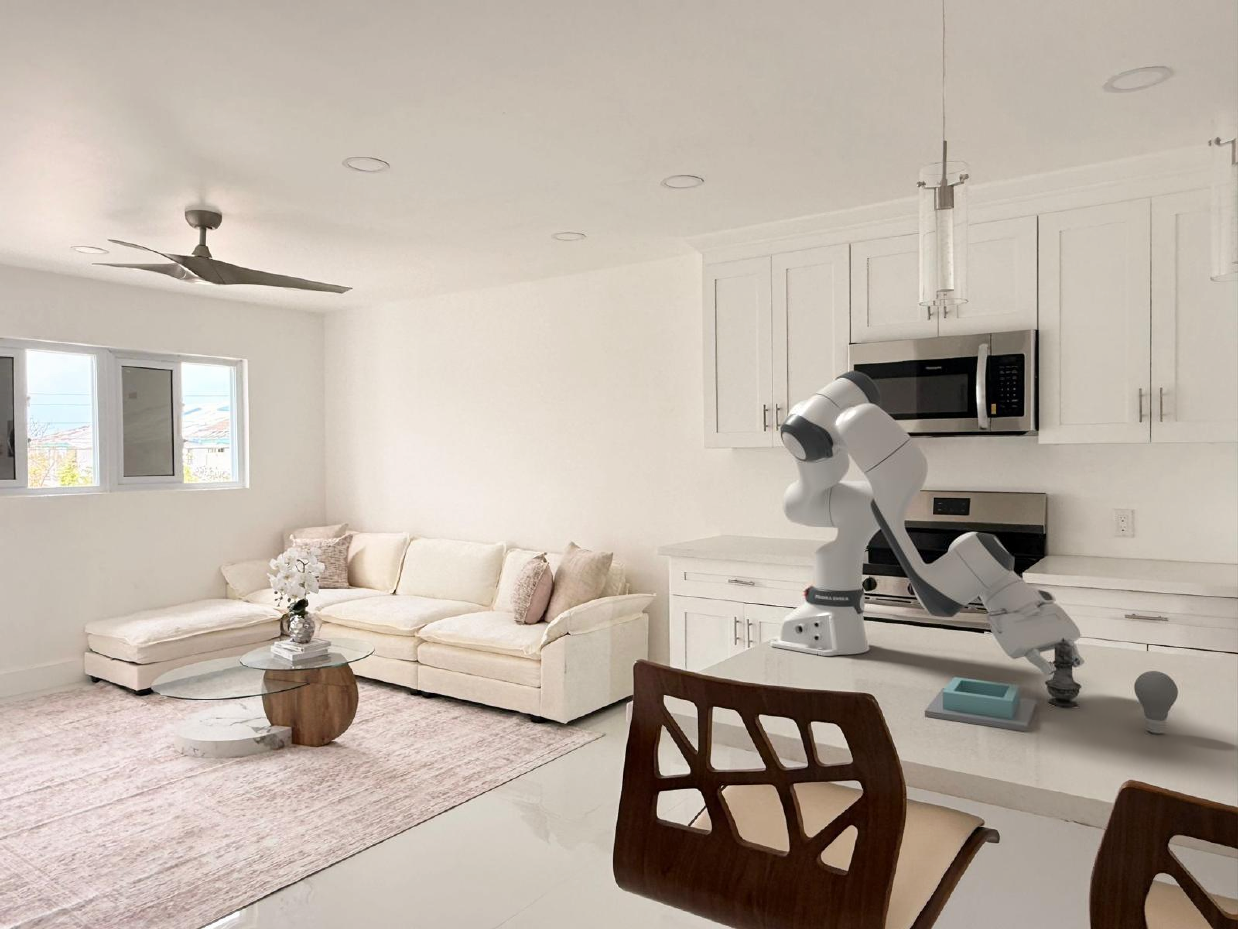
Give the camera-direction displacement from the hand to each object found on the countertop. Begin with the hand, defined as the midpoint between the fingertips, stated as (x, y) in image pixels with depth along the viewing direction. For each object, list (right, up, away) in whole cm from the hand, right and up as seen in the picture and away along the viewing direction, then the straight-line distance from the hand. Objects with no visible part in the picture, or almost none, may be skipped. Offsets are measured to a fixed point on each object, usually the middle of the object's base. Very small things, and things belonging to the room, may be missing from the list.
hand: (1066, 669), depth 153 cm
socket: (-17, -7, -3) cm, 18 cm away
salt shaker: (0, -7, +1) cm, 7 cm away
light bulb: (+7, -7, -15) cm, 18 cm away
